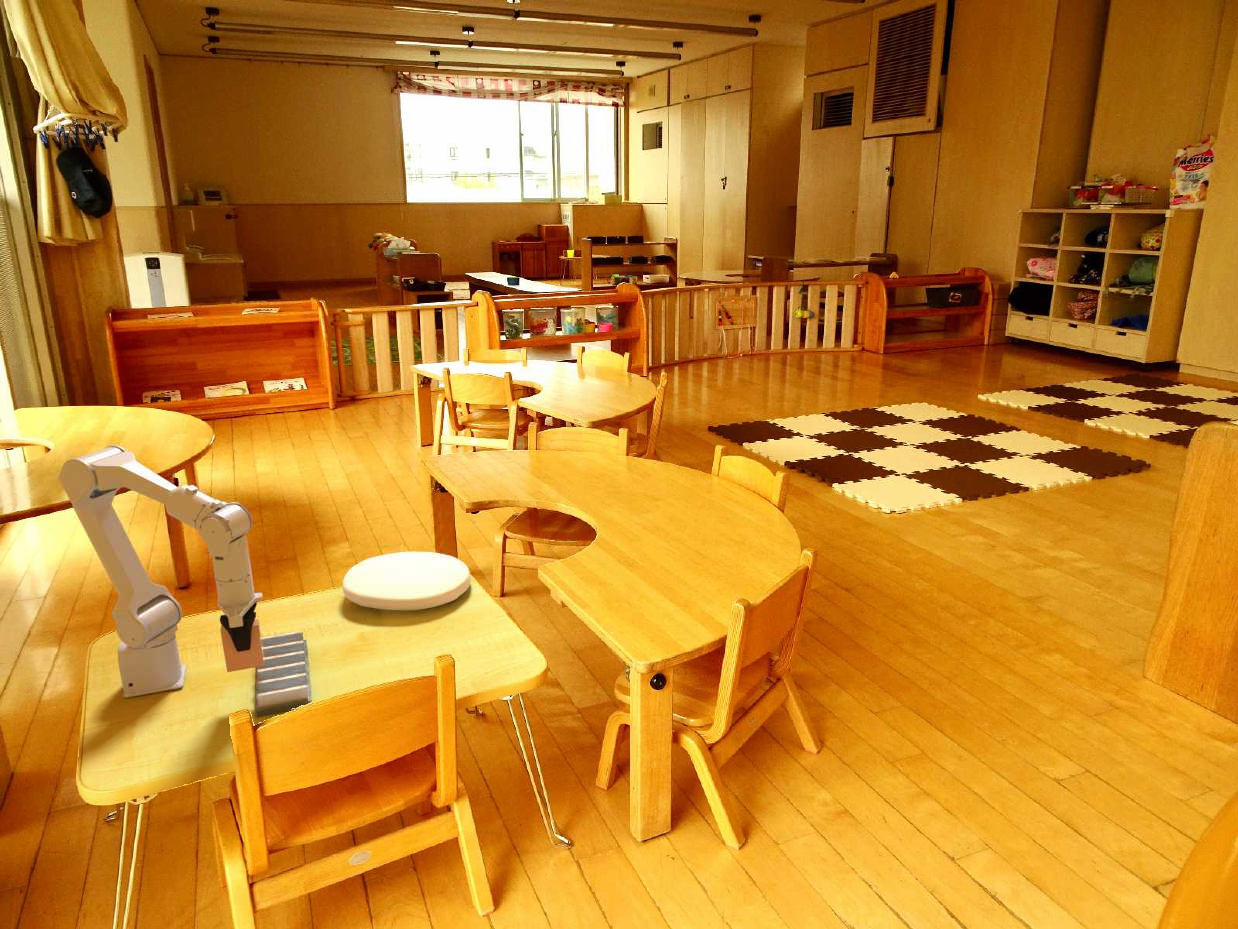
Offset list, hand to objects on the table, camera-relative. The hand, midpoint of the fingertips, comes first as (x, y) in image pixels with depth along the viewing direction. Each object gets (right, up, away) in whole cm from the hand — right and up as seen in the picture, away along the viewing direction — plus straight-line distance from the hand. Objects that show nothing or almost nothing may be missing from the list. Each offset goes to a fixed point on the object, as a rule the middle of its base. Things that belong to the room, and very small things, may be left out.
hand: (244, 646), depth 149 cm
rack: (+4, -8, +8) cm, 12 cm away
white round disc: (+18, +3, +44) cm, 47 cm away
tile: (0, -4, +1) cm, 4 cm away
